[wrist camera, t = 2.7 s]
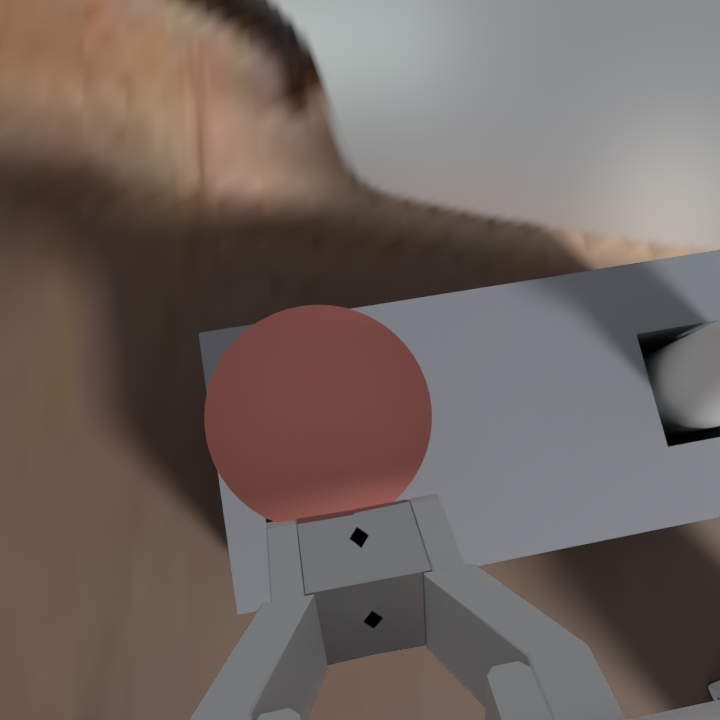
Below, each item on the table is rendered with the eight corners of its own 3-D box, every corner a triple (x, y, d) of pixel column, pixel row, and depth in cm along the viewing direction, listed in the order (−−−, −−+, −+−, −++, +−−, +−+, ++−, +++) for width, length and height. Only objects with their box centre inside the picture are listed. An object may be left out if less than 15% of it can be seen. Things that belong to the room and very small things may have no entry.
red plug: (266, 533, 28) (221, 551, 15) (248, 411, 29) (189, 323, 16) (387, 509, 29) (452, 506, 15) (365, 391, 30) (407, 288, 16)
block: (260, 584, 32) (237, 614, 23) (231, 383, 35) (198, 332, 25) (689, 499, 35) (834, 493, 25) (637, 315, 37) (753, 244, 27)
